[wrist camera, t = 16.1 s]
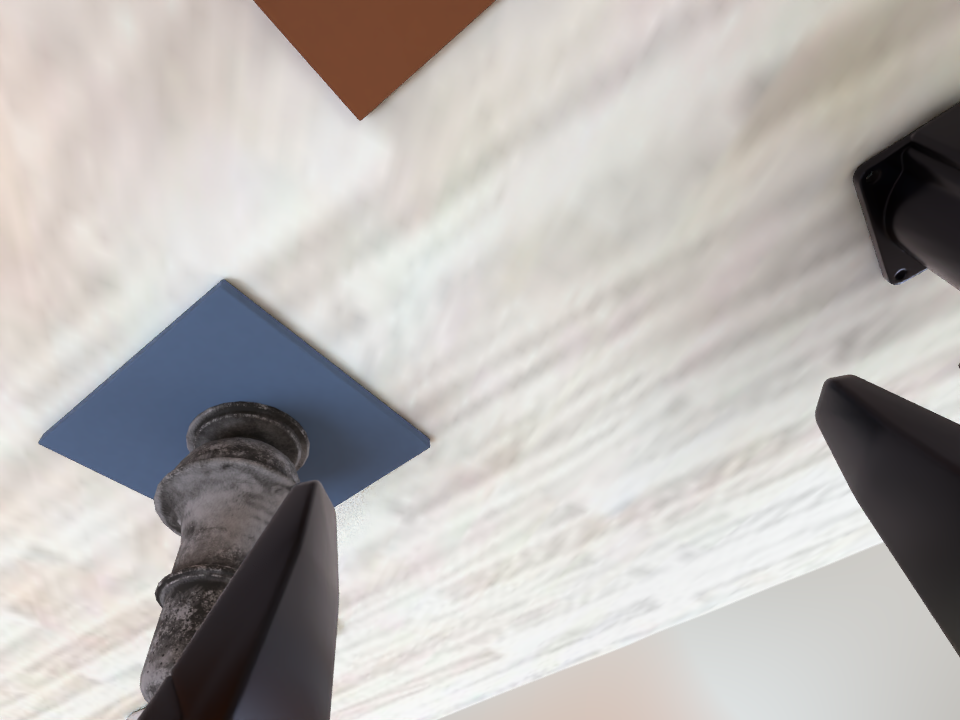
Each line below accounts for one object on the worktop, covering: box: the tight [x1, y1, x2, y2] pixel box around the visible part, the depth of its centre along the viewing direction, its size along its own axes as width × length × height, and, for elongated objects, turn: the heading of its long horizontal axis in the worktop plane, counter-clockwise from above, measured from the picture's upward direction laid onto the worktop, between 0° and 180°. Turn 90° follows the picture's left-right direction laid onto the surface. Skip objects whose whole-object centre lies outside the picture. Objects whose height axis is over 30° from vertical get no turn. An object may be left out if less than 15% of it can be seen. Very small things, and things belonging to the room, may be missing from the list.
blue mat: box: [38, 279, 430, 507], centre depth 27 cm, size 12×12×1 cm
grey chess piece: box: [140, 401, 310, 703], centre depth 22 cm, size 6×6×12 cm
